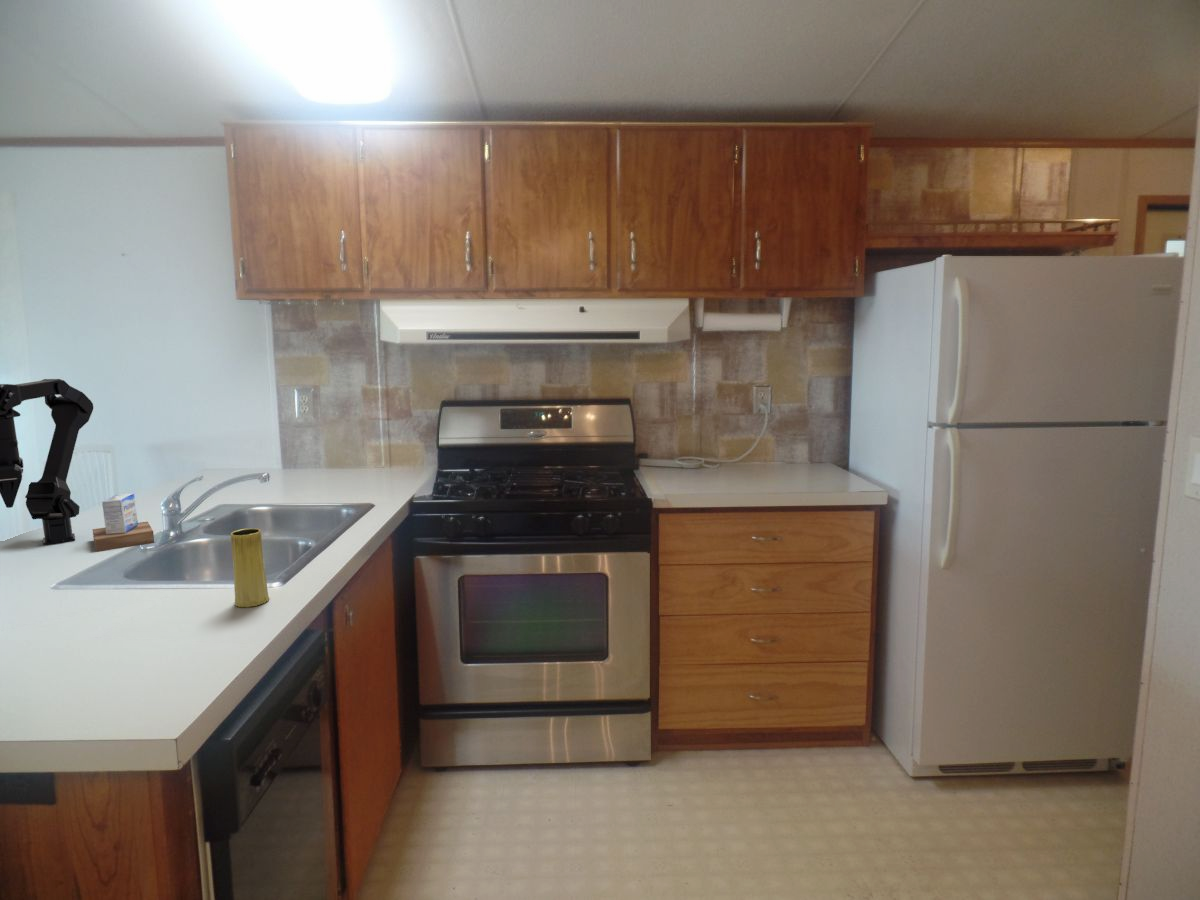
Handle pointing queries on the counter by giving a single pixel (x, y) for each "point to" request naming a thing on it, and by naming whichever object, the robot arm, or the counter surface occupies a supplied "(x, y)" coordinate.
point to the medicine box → (120, 513)
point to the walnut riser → (123, 537)
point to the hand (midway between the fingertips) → (10, 503)
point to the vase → (248, 568)
